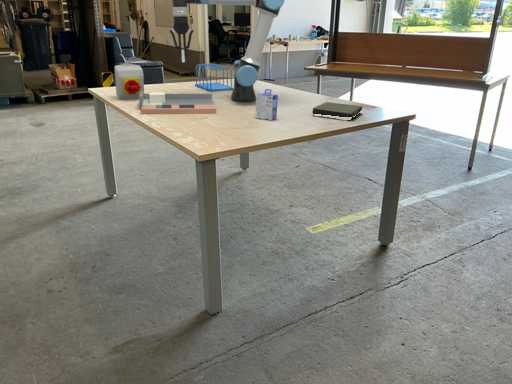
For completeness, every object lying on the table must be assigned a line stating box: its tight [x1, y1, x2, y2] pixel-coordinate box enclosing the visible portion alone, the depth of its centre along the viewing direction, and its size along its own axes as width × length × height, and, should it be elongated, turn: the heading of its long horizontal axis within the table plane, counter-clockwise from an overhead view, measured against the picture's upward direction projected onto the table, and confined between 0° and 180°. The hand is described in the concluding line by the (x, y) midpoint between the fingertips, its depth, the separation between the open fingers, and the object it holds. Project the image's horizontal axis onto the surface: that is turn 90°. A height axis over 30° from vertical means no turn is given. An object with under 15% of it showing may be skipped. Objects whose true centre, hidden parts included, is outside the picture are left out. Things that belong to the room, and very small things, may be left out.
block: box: [148, 91, 166, 103], centre depth 236 cm, size 8×8×4 cm
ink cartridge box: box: [255, 88, 279, 121], centre depth 215 cm, size 10×6×14 cm, turn 58°
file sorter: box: [194, 63, 234, 93], centre depth 297 cm, size 25×17×15 cm
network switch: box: [312, 101, 363, 117], centre depth 229 cm, size 23×23×5 cm
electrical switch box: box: [114, 63, 145, 101], centre depth 252 cm, size 15×15×20 cm
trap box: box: [138, 90, 217, 115], centre depth 233 cm, size 40×28×7 cm
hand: (183, 62), depth 238 cm, fingers closed
